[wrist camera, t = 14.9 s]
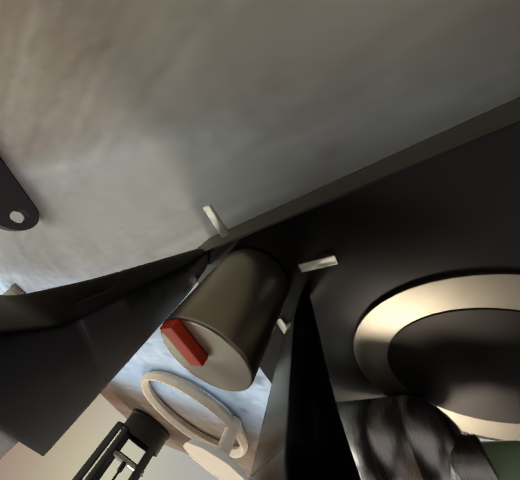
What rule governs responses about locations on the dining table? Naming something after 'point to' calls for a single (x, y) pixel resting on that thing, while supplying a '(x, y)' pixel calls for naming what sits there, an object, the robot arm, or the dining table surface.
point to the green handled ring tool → (420, 443)
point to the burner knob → (228, 320)
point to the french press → (137, 430)
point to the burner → (450, 348)
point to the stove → (389, 233)
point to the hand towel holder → (201, 447)
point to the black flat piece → (14, 203)
